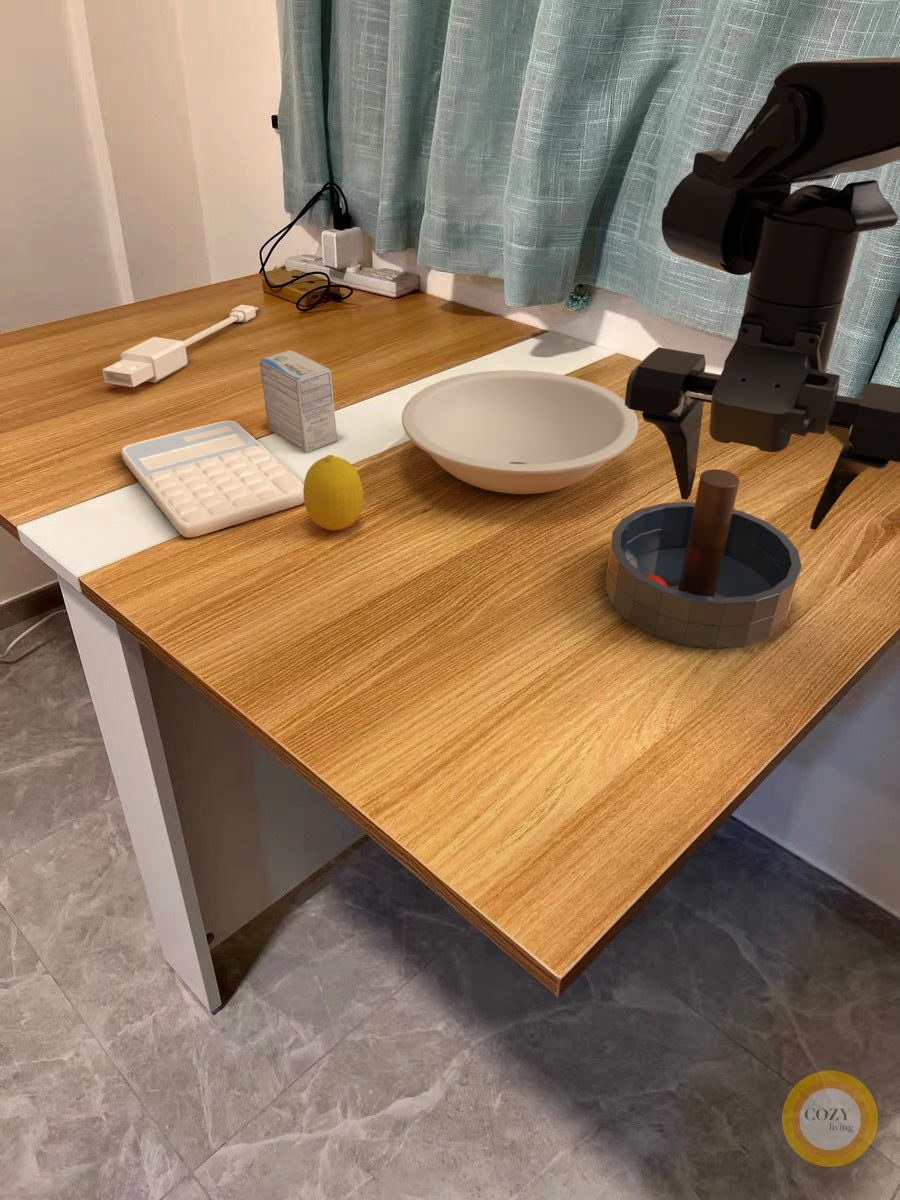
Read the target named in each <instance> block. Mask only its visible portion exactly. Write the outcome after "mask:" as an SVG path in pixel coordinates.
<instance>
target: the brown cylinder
mask: <svg viewBox="0 0 900 1200" xmlns="http://www.w3.org/2000/svg"><path fill="white" fill-rule="evenodd" d="M697 485H698V486H697V491H696V496H695V501H694V503H695V506H694V511H693V516H692V522H691V527H690V532H689V537H688V542H687V548H686V553H685V558H684V563H683V568H682V574H681V579H680V584H679V591H683V592H686V593H690V594H693V595H700V596H709V597H714V594H715V590H716V585H717V581H718V576H719V572H720V567H721V563H722V558H723V554H724V549H725V545H726V540H727V536H728V532H729V527H730V523H731V518H732V514H733V509H735V505H736V500H737V495H738V491H739V487H740V478H739V477H738V476H737V475H736V474H735V473H733V472H730V471H728V470H725V469H716V468H714V469H707V470H704V471H703V472H701V474H700V476H699V480H698V484H697Z"/></svg>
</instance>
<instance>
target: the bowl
mask: <svg viewBox="0 0 900 1200" xmlns="http://www.w3.org/2000/svg"><path fill="white" fill-rule="evenodd" d="M694 506H695V501H694V502H693V501H676V502H662V503H658V504H654V505H650V506H647V507H643V508H639V509H637V510H635V511H633V512H631V513H630V514H628V515H627V516H624V517H623V518H621V520H620V521H619V522H618V524H617V525H616V526H615V527H614V529H613V531H611V539H610V547H609V555H608V561H607V568H606V569H607V570H606V578H605V579H606V580H605V592H606V595H607V597H608V599H609V602H610V603H611V605H612V606H613V608H614V609H615V610H616V611H617V613H618V614H619V615H620V616H621V617H623V618H624V619H625V620H626V621H627V622H628V623H630V624H631V625H633V626H634V627H635V628H637V629H639V630H641V631H643V632H644V633H646V634H648V635H651V636H653V637H655V638H658V639H660V640H663V641H665V642H668V643H672V644H676V645H679V646H684V647H689V648H698V649H707V650H726V649H736V648H743V647H747V646H751V645H755V644H758V643H759V642H760V643H761V642H762V641H764V640H766V639H768V638H770V637H772V636H773V635H774V634H776V633H777V632H778V631H779V630H780V629H781V628H782V627H783V626H784V624H785V622H786V620H787V617H788V614H789V612H790V609H791V605H792V602H793V598H794V596H795V593H796V589H797V585H798V581H799V578H800V575H801V574H800V573H801V572H802V568H803V567H802V565H803V564H802V562H801V557H800V553H799V549H798V548H797V547H796V546H795V544H794V543H793V542H792V541H791V540H790V539H789V537H788V536H787V535H786V534H785V532H782V531H781V530H779V529H778V528H776V527H775V526H774V525H772V524H771V523H769V522H768V521H766V520H765V519H762V518H760V517H757V516H755V515H753V514H749V513H748V512H745V511H743V510H738V509H735V508H734V509H733V514H732V518H731V523H730V527H729V532H728V536H727V540H726V545H725V549H724V554H723V558H722V563H721V567H720V572H719V576H718V581H717V585H716V590H715V594H714V597H709V596H700V595H693V594H690V593H686V592H683V591H679V584H680V579H681V574H682V568H683V563H684V558H685V553H686V548H687V542H688V537H689V532H690V527H691V522H692V516H693V511H694ZM648 574H652V575H657V576H659V577H660V578H662V579H663V580H664V581H665V582H666V584H667V586H668V587H666V586H664V585H662V584H660V583H658V582H656V581H654V580H652V579H650V578H648V577H646V576H644V575H648Z"/></svg>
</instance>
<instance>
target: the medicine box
mask: <svg viewBox="0 0 900 1200" xmlns="http://www.w3.org/2000/svg"><path fill="white" fill-rule="evenodd" d="M259 370H260V377H261V378H260V379H261V384H262V385H261V386H262V391H263V397H264V400H263V401H264V407H265V414H266V420H267V421H266V422H267V425H268V426H267V427H268V430H269V431H271V432H272V433H274V434H276V435H278V436H279V437H281V438H283V439H284V440H286V441H288V442H289V443H290V444H292V445H294V446H296V447H298V448H299V449H301V450H302V451H304V452H305V453H309V452H312V451H315V450H317V449H320V448H323V447H325V446H328V445H330V444H333V443H336V442H338V431H337V422H336V411H335V401H334V399H335V398H334V390H333V380H332V379H333V378H332V371H331V369H329V368H328V367H326V366H325V365H322V364H320V363H318V362H316V361H314V360H313V359H311V358H308V357H307V356H304V355H303V354H300V353H298V352H296V351H293V350H290V349H289V350H286V351H283V352H279V353H275V354H271V355H269V356H266V357H264V358H261V359H259Z"/></svg>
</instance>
